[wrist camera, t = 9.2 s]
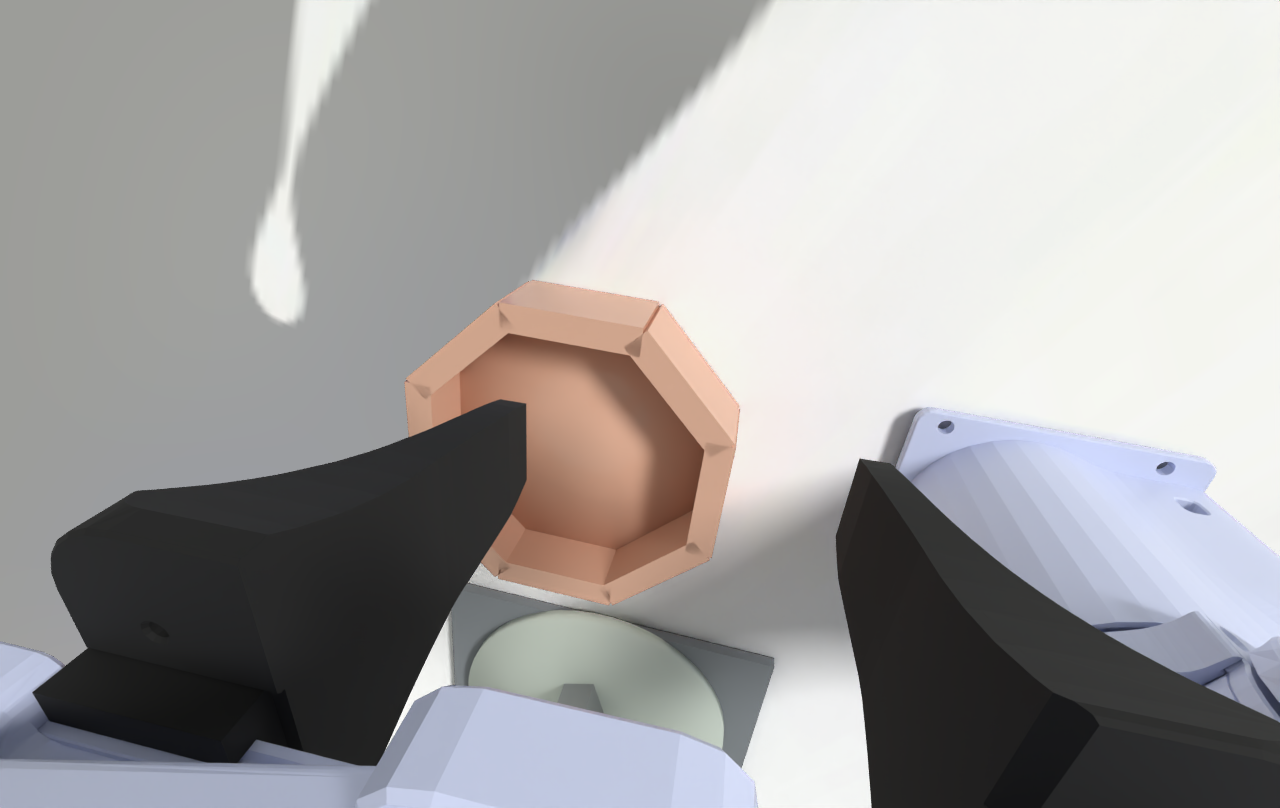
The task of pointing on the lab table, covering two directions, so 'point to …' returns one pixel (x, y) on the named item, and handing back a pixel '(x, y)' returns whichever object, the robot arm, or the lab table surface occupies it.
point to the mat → (725, 668)
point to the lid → (600, 671)
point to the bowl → (593, 436)
